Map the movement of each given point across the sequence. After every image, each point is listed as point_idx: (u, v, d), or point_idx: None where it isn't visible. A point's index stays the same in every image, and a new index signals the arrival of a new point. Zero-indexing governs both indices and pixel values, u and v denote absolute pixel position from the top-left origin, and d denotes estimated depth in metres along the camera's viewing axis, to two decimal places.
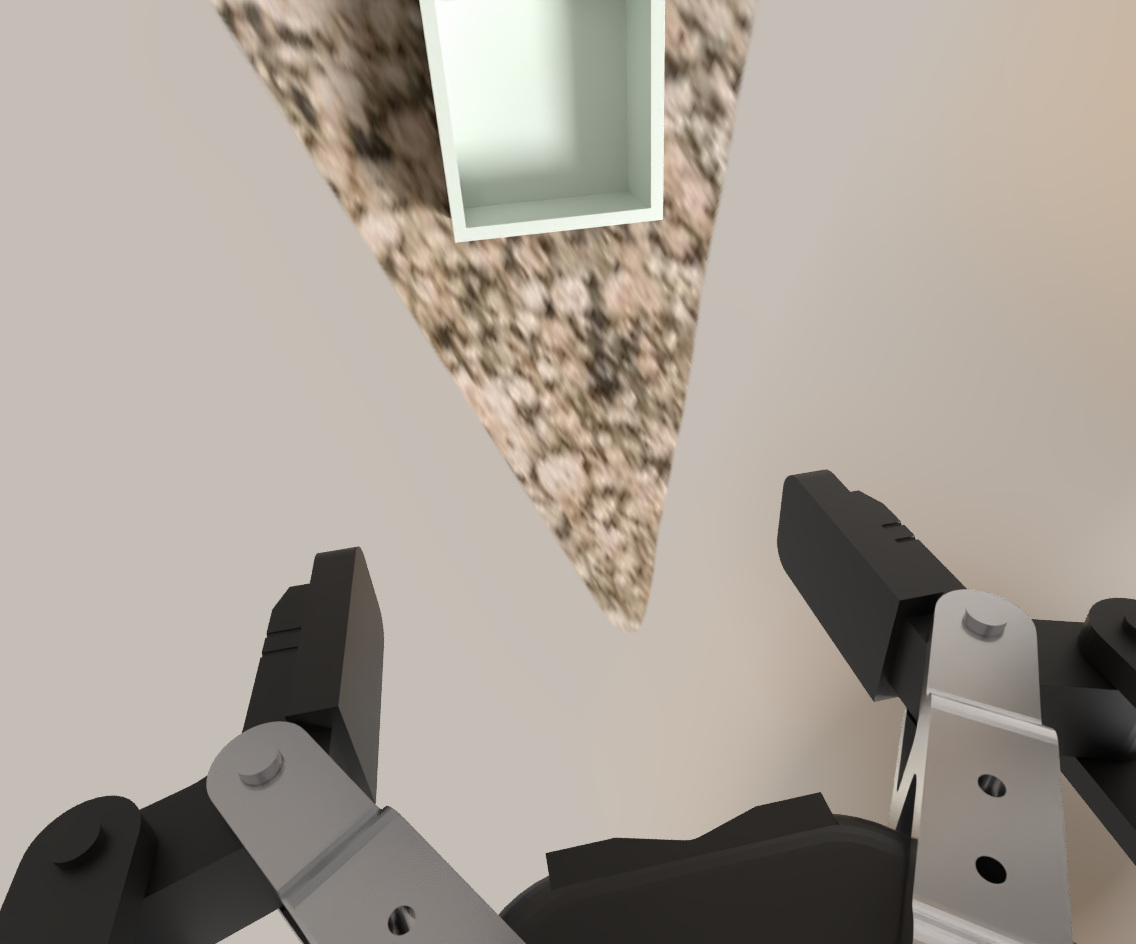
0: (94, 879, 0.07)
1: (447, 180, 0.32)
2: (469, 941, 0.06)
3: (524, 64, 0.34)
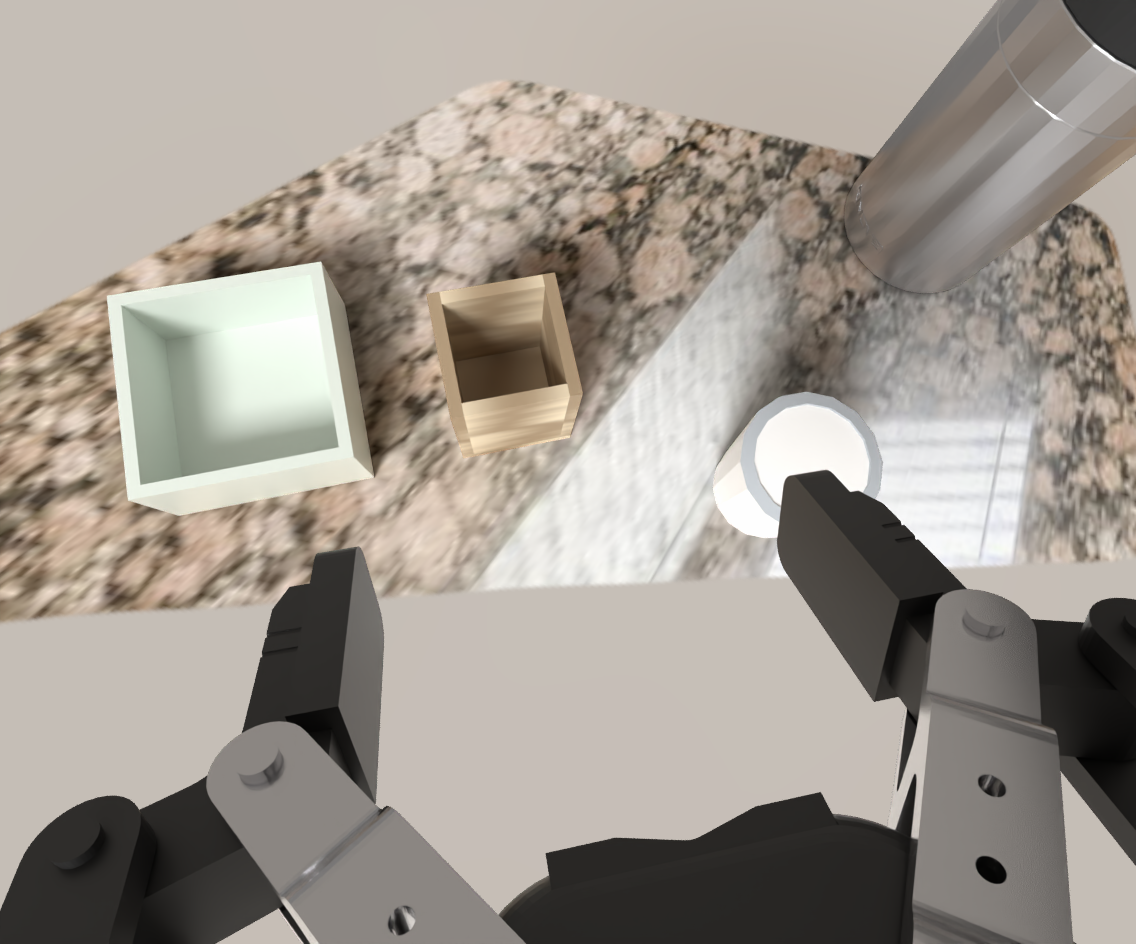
0: (94, 879, 0.07)
1: (166, 287, 0.34)
2: (469, 941, 0.06)
3: (293, 387, 0.38)
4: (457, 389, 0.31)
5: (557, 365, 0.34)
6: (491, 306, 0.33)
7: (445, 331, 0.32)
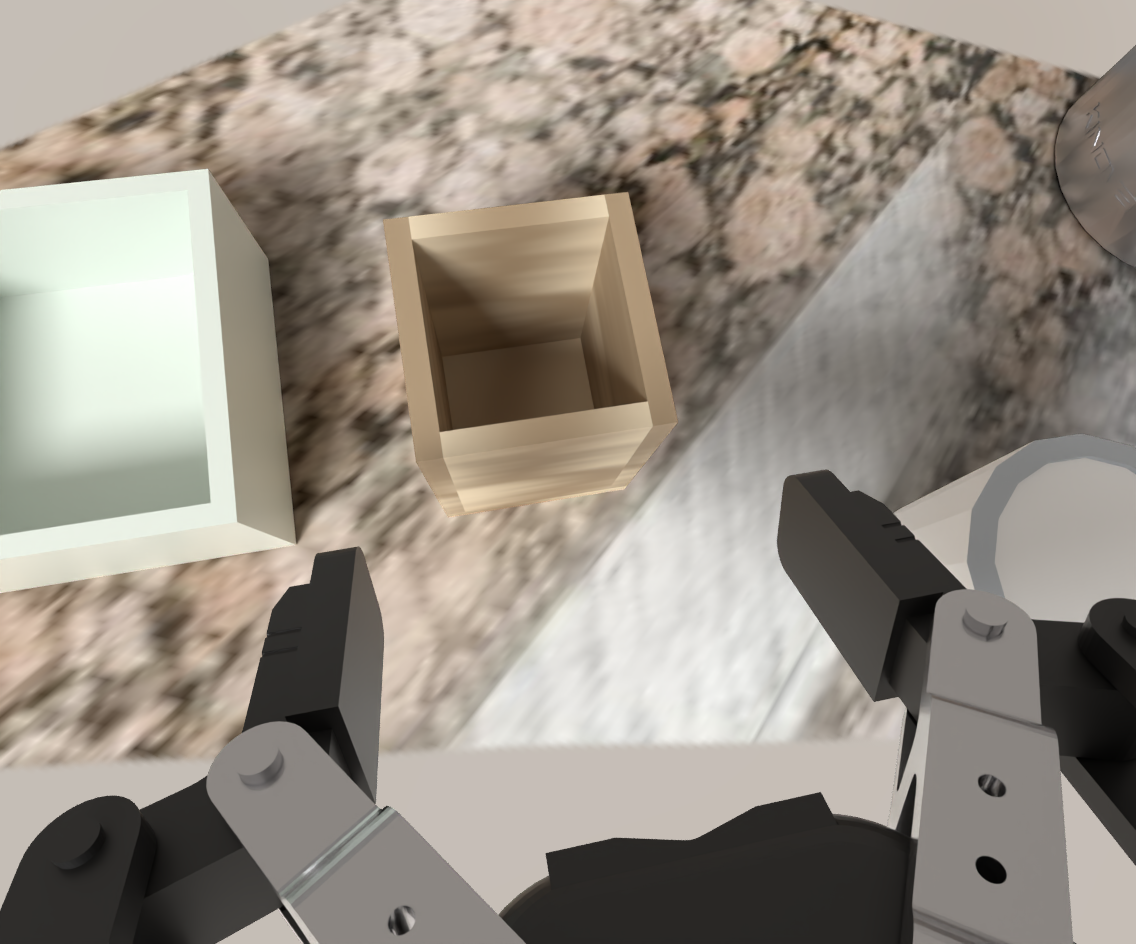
0: (94, 879, 0.07)
1: None
2: (469, 941, 0.06)
3: (169, 389, 0.23)
4: (433, 404, 0.16)
5: (622, 367, 0.18)
6: (506, 254, 0.18)
7: (415, 291, 0.16)
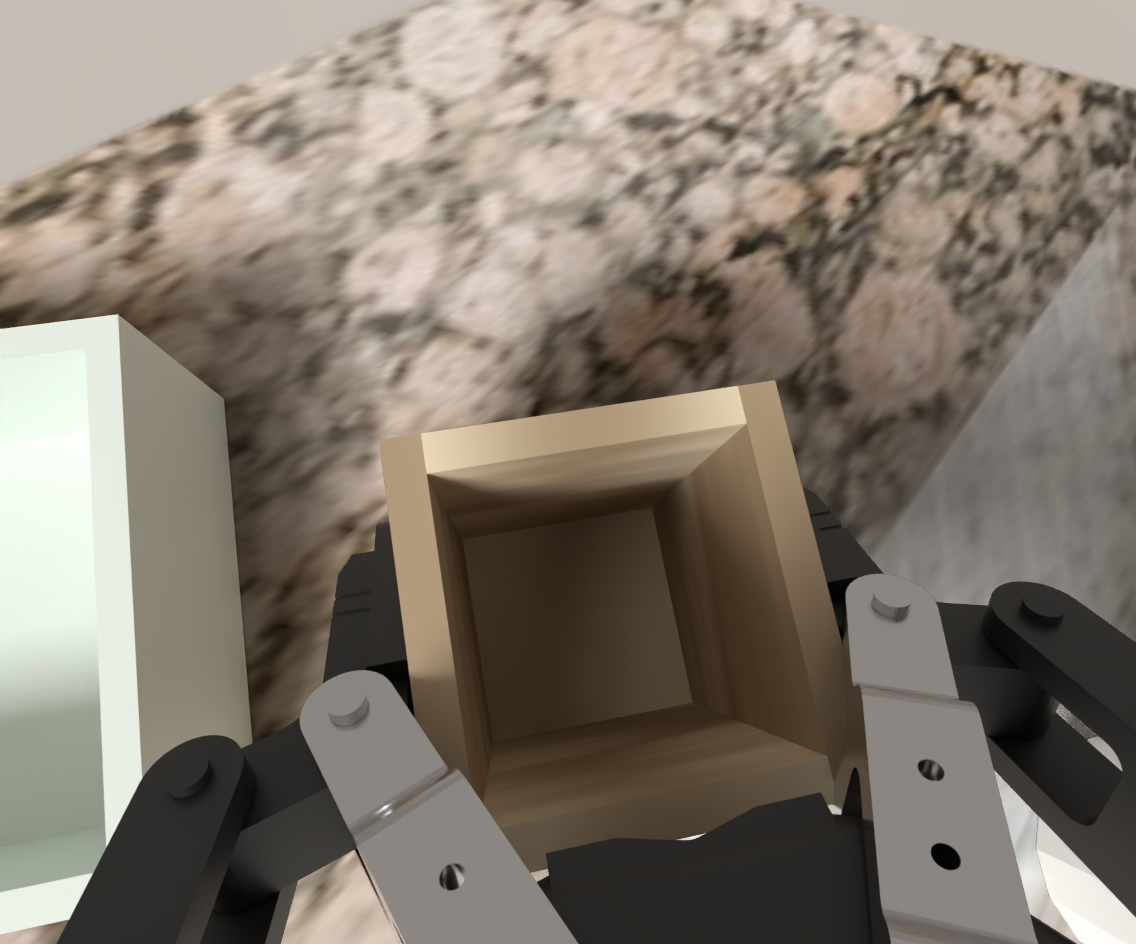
0: (206, 807, 0.08)
1: None
2: (511, 910, 0.06)
3: (79, 597, 0.16)
4: (466, 779, 0.09)
5: (755, 639, 0.12)
6: (574, 468, 0.11)
7: (434, 567, 0.10)
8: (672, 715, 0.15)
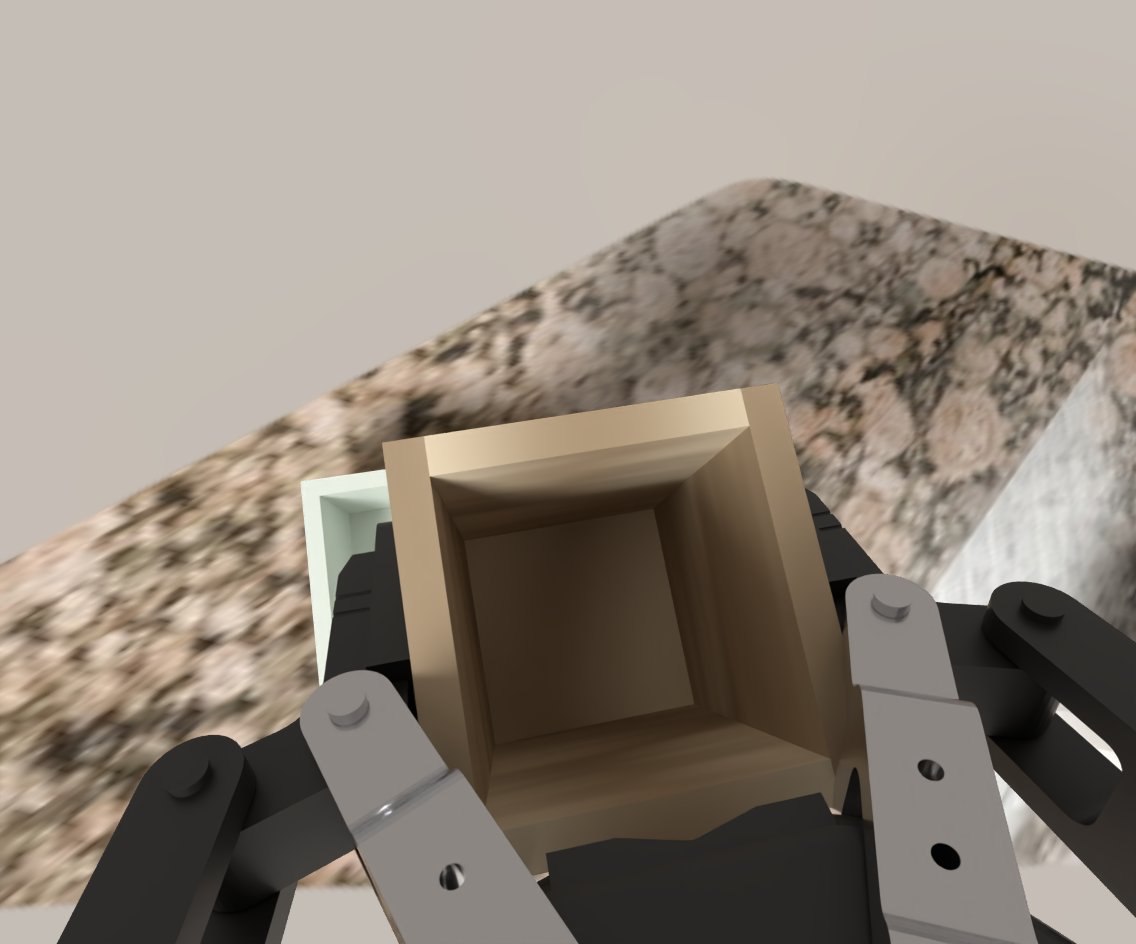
0: (206, 807, 0.08)
1: (379, 471, 0.25)
2: (511, 910, 0.06)
3: None
4: (469, 782, 0.09)
5: (758, 641, 0.12)
6: (576, 470, 0.11)
7: (437, 570, 0.10)
8: (674, 717, 0.15)
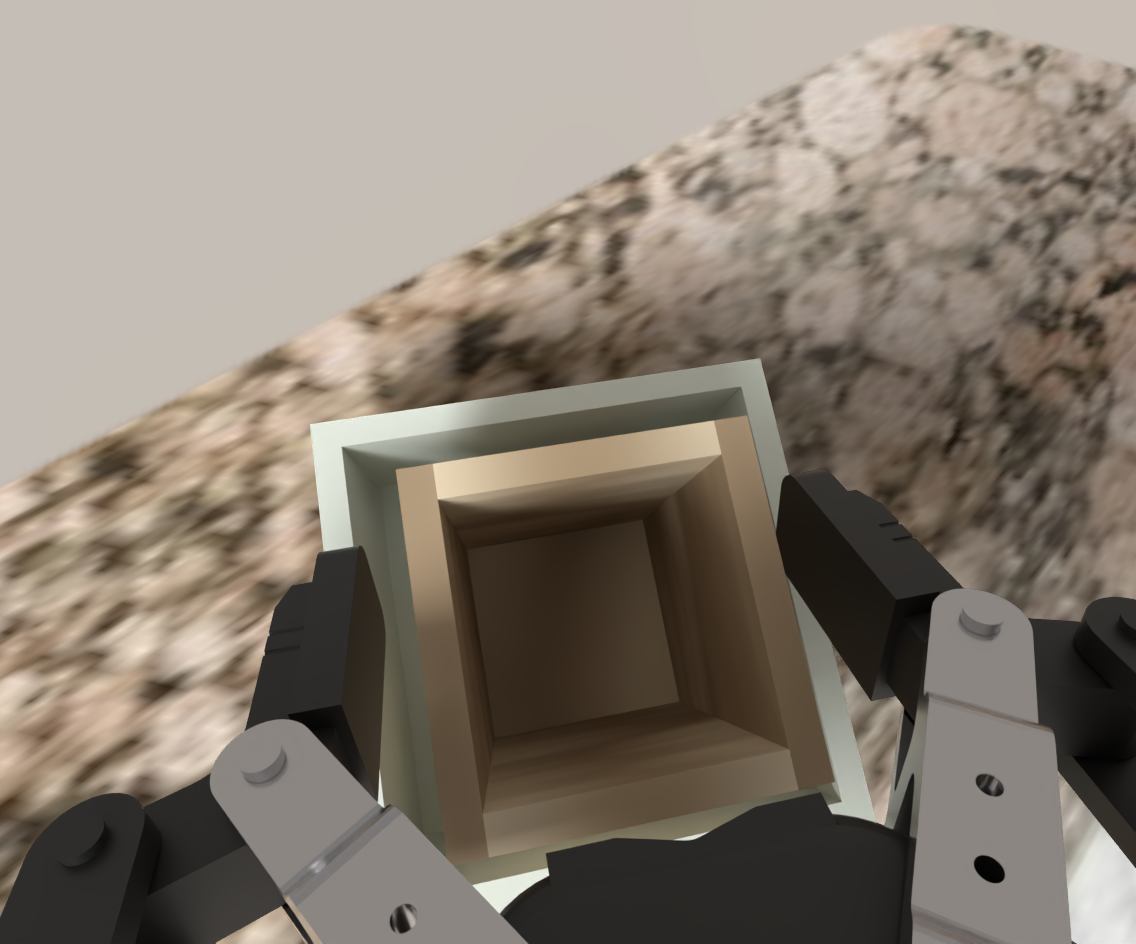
0: (98, 876, 0.07)
1: (439, 408, 0.15)
2: (470, 940, 0.06)
3: None
4: (472, 768, 0.11)
5: (731, 645, 0.13)
6: (568, 491, 0.13)
7: (444, 583, 0.11)
8: (659, 713, 0.17)
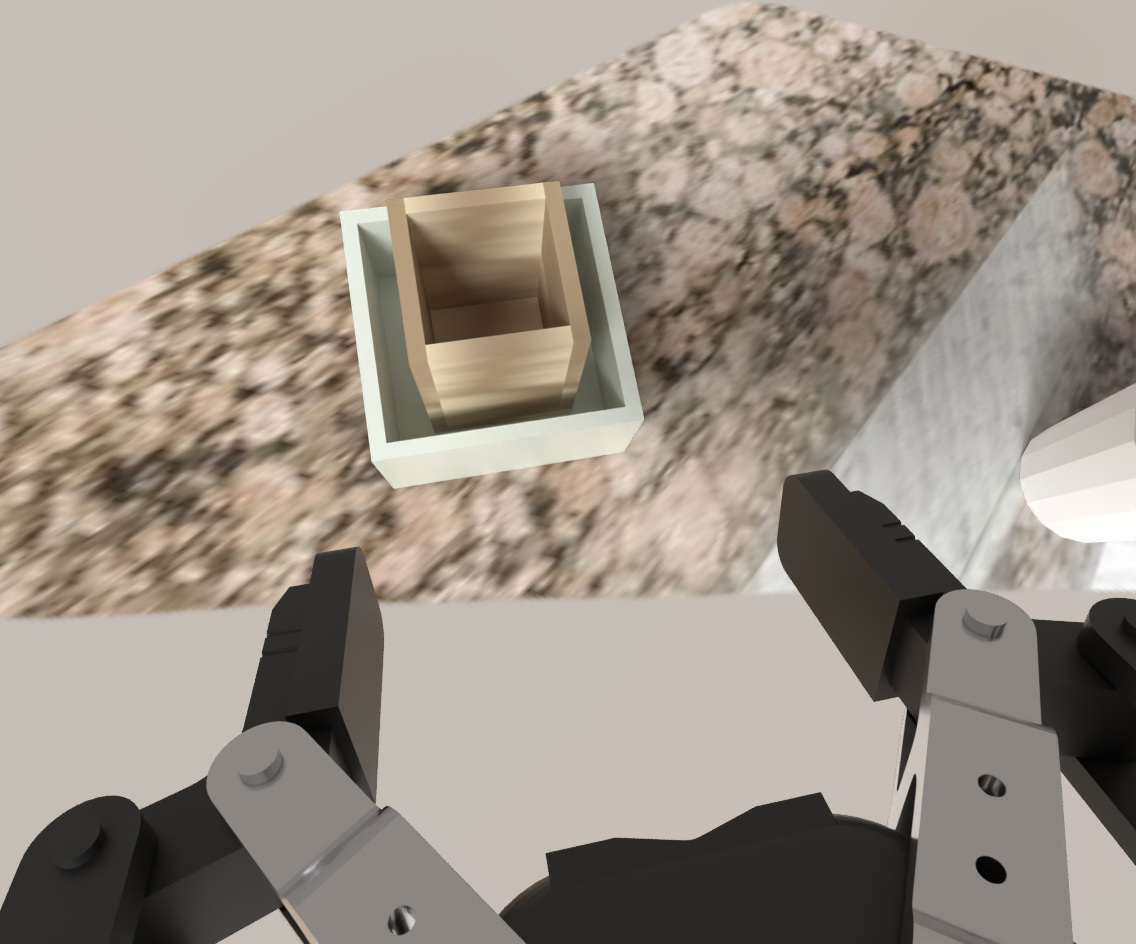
0: (93, 879, 0.07)
1: None
2: (469, 941, 0.06)
3: None
4: (420, 326, 0.23)
5: (558, 307, 0.25)
6: (473, 226, 0.25)
7: (408, 249, 0.23)
8: None
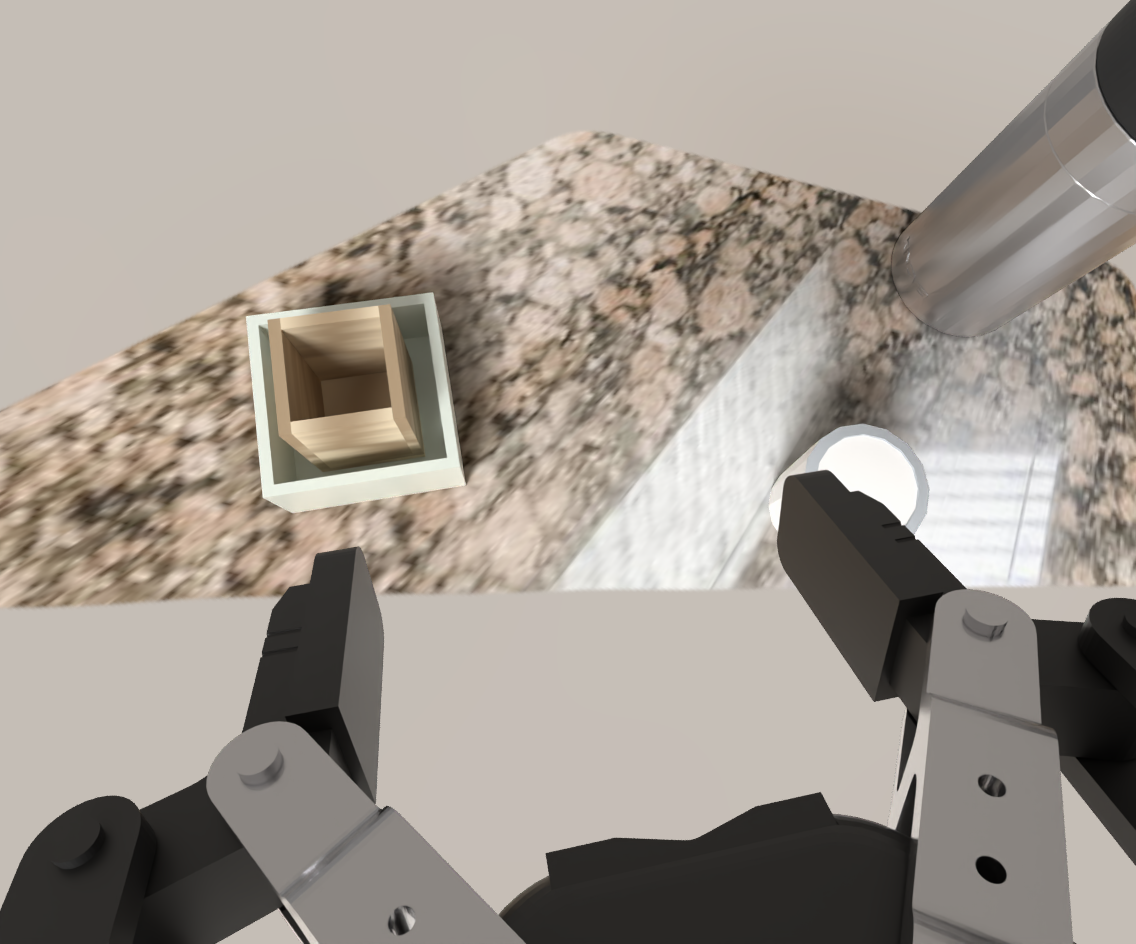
0: (94, 879, 0.07)
1: (298, 310, 0.39)
2: (469, 941, 0.06)
3: None
4: (288, 408, 0.34)
5: None
6: (333, 333, 0.36)
7: (282, 354, 0.34)
8: None
